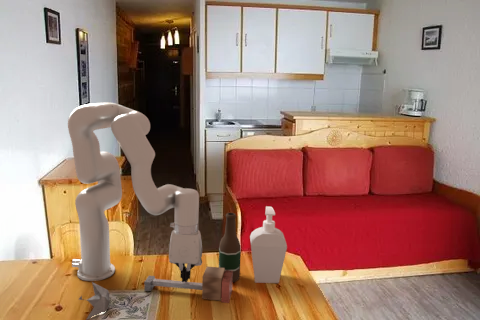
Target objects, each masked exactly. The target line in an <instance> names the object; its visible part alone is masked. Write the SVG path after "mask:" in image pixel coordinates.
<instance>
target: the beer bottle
mask: <svg viewBox="0 0 480 320" xmlns="http://www.w3.org/2000/svg"><path fill="white" fill-rule="evenodd" d="M225 218H226V220H225V227H224V229H225V230H224V235H223V237H221V239H220V241H219V247H218V267H219V268H225V271H226V270H230V271H233V279H232V283H235V282H237V281H238V280H239V279H240V278H241V277H240V275H241V257H242V255H241V252H242V250H241V249H242V247H241V246H242V245H241V242H240V240H239V238H238V236H237V232H236V231H237V230H236V229H237V228H236V227H237V226H236V218H237V215H236V213H234V212H227V213H226V214H225Z"/></svg>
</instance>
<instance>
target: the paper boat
mask: <svg viewBox="0 0 480 320" xmlns="http://www.w3.org/2000/svg"><path fill="white" fill-rule="evenodd" d="M91 284H92V288H93V293H94V295H92V296H91V297H89V298H87V299H86V301H87V302H88V303H89V304H90V305H91V306H92V307H93V308H92V310H91V311H90V312H89V314H88V316H87V318H86V319H85V320H90V318H91V317H92V316H94V315H97V314H99V313H101V312H105V311H106V310H107V309H108V310H109V306H110V304H111V298H110V291H109V289H107V288H104V287H103V286H101V285H99V284H97V283H96V282H94V281H91ZM78 300H81V301H82V300H83V301H84V299H83V295H81V296H80V297H79V298H78ZM108 310H107V311H108ZM91 319H92V318H91Z"/></svg>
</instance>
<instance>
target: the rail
mask: <svg viewBox="0 0 480 320" xmlns="http://www.w3.org/2000/svg"><path fill="white" fill-rule="evenodd" d="M155 277H156V276H154V275H148V276H147V278H146V279H145V280H144V285H143V286H144V292H145V291H151V290H152V291H153V289H154V288H155V287H164V288H175V289H187V290H195V291H196V290H198V291H202V282H195V281H194V282H193V281H187V282H185V281H184V282H182V280H172V279H164V278H163V279H161V278H155ZM232 279H233V271H230V270H226V271H225V274H224V277H223V280H222V294H221V300H220V302H221V303H223V304H224V303H225V304H226V303H227V304H229V303H230V300H231V296H232V292H233V282H232ZM152 291H151V292H152Z"/></svg>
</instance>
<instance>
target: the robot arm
mask: <svg viewBox="0 0 480 320" xmlns="http://www.w3.org/2000/svg"><path fill="white" fill-rule="evenodd" d="M67 119H68V120H67V128H68V129H67V130H68V134H69V137H70V141H71V145H72V146H71V147H72V154H73V161H74V170H75V174H76V178H77V179H78V181H79V182H80V183H82V184H85V185H86V184H87V185H89V184H94V183H97V184H94V185H92V186H89V187H86V188H84V189H83V190H81V191H80V192H79V193H78V194H77V195H76V197H75V202H74V204H75V205H74V206H75V209H76V213H77V217H78V223H79V235H80V237H79V238H80V254H81V255H80V257H81V258H80V259H79V258H73V259H72V261H71V267H72V268H77V269H78V270H77V278H78V279H80V280H82V281H85V282H95V281H96V282H97V281H102V280H105V279H107V278H110V277H111V276H113V275H114V273H115V271H116V267H115V265H114V264H112V263H111V250H110V249H111V248H110V247H111V246H110V245H111V244H110V243H111V242H110V226H109V220H108V218H107V216H106V215H105V211H107V210H110V209H111V208H113V207H115V206H116V205H118V204H119V203H120V202H121V199H122V197H123V189H122V188H123V187H122V179H121V171H120V170H121V169H120V165H119V162H118V160H117V158H116V157H115V155H114V154H113V153H112V152H109V151H101V147H100V146H101V145H100V140H99V139H98V137H97V135H96V133H95V132H94V131H97V130H101V129H109V128H110V130H111V132H112V134H113V136H114V138H115V140H116V141H117V143H118V145H119V146H120V148H121V150H122V152H123V154H124V155H125V157H126V159H127V161H128V162H129V164H130V167H131V168H130V171H131V172H130V173H131V175H130V177H131V183H132V189H133V192H134V193H135V196H136V198H137V199H138V201H139V202H140V204H141V206H142V207H143V208H144V209H145V211H146V212H147V213H149V214H150V215H153V216H159V215H162V214H164V213H166V212H167V211H168V210H170V209H174V222H170V223H169V224H170V225H169V227H170V228H173V230H172V231H171V233H170V234H171V235H170V241H169V246H168V247H169V248H168V260H169V263H170V264H173V265H176V266H177V267H178V269H179V271H180V275H179V277H180V279H181V281H182V282H184V281H185V282H189V280H190V279H191V271H192V269H193V268H195V267H197V266H198V267H199V266H202V264H203V259H202V256H203V245H202V244H203V243H202V235H201V231H200V230H199V213H200V212H199V210H200V209H199V208H200V202H199V201H200V194H199V192H198V190H196V189H193V188H187V187H185V188H183V187H181V186H177V185H174V184H169V183H167V184H165V185H162V186H159V187H157V186H156V185H155V182H154V180H153V177H152V164H153V161H154V159H155V157H156V152H155V150H154V148H153V147H152V145H151V143H150V141H149V140H148V138H147V136H146V135H148V134H149V132H150V130H151V122H150V120H149V118H148V117H147V116H146V115H145V114H143V113H142V112H140V111H138V110H134V109H133V108H129V107H126V106H124V105H121V104H118V103H115V102H96V103H87V104H83V105H80V106H78V107H76V108H74V109H73V110H72V111H71V113H70V114H69V117H68V118H67Z"/></svg>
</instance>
